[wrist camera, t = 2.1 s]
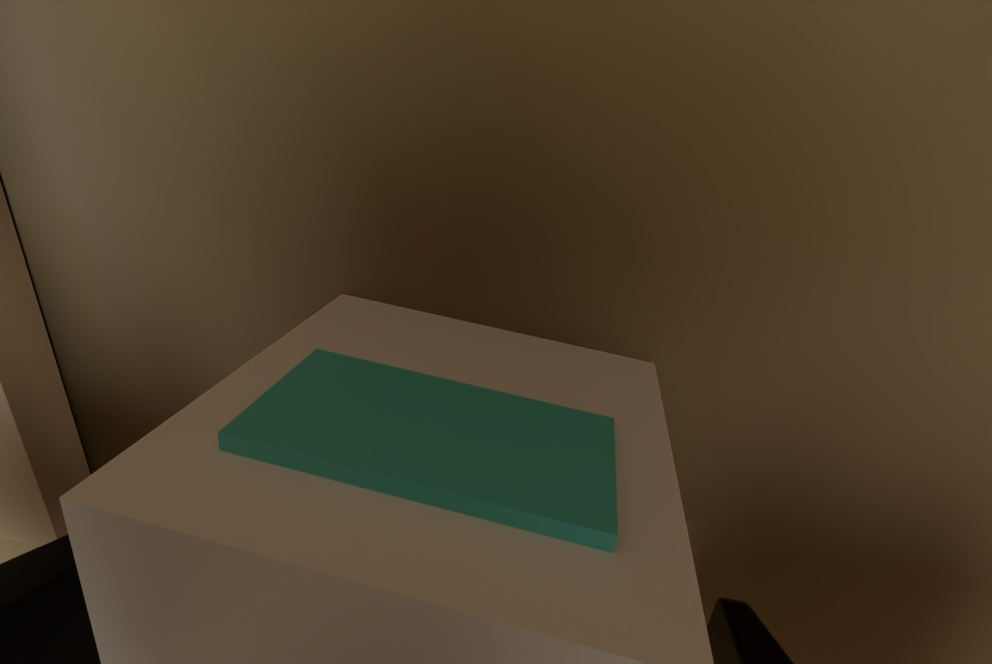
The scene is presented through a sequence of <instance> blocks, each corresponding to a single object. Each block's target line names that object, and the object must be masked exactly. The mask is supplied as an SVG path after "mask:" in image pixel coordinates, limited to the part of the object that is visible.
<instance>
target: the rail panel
mask: <svg viewBox="0 0 992 664" xmlns="http://www.w3.org/2000/svg"><path fill="white" fill-rule="evenodd" d="M90 475H91V474H90V471H89V468H88V464H87V461H86V458H85V455H84V451H83V448H82V445H81V442H80V438H79V435H78V432H77V429H76V425H75V422H74V419H73V416H72V412H71V409H70V406H69V403H68V399H67V396H66V393H65V390H64V386H63V383H62V380H61V377H60V373H59V370H58V367H57V364H56V360H55V357H54V354H53V351H52V347H51V344H50V341H49V338H48V334H47V331H46V328H45V325H44V321H43V318H42V315H41V312H40V308H39V305H38V302H37V299H36V295H35V292H34V289H33V286H32V282H31V279H30V276H29V273H28V269H27V266H26V263H25V260H24V256H23V253H22V250H21V247H20V243H19V240H18V237H17V234H16V231H15V227H14V224H13V221H12V218H11V214H10V211H9V208H8V205H7V201H6V198H5V195H4V192H3V188H2V185H1V182H0V538H2V539H6V540H10V541H15V542H19V543H24V544H28V545H32V546H37V547H40V546H42V545H45V544H47V543H49V542H52V541H54V540H56V539H58V538H61V537H63V536H65V535H67V534H68V531H67V527H66V523H65V519H64V515H63V511H62V507H61V503H60V499H59V497H61V496H62V495H64V494H65V493H66V492H68V491H69V490H71V489H72V488H73V487H75V486H76V485H77V484H79V483H80V482H82V481H83V480H84V479H86V478H87V477H89V476H90Z"/></svg>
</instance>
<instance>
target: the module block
mask: <svg viewBox="0 0 992 664" xmlns="http://www.w3.org/2000/svg"><path fill="white" fill-rule="evenodd" d="M59 499H60V503H61V507H62V511H63V515H64V519H65V523H66V527H67V531H68V535H69V539H70V543H71V547H72V551H73V555H74V559H75V563H76V567H77V570H78V574H79V578H80V582H81V586H82V590H83V594H84V598H85V602H86V606H87V610H88V614H89V618H90V622H91V626H92V630H93V634H94V638H95V642H96V645H97V649H98V653H99V657H100V661H101V664H714V662H713V657H712V652H711V647H710V642H709V637H708V632H707V627H706V622H705V617H704V612H703V606H702V601H701V596H700V591H699V586H698V581H697V576H696V571H695V566H694V561H693V556H692V551H691V546H690V540H689V535H688V530H687V525H686V520H685V515H684V510H683V505H682V500H681V495H680V490H679V485H678V480H677V474H676V469H675V464H674V459H673V454H672V449H671V444H670V439H669V434H668V429H667V424H666V419H665V414H664V408H663V403H662V398H661V393H660V388H659V383H658V378H657V373H656V368H655V363H652V362H647V361H643V360H638V359H634V358H629V357H625V356H620V355H616V354H611V353H607V352H602V351H598V350H593V349H589V348H584V347H580V346H575V345H571V344H566V343H562V342H557V341H553V340H548V339H544V338H539V337H535V336H530V335H526V334H521V333H517V332H512V331H508V330H503V329H499V328H494V327H490V326H485V325H481V324H476V323H471V322H467V321H462V320H458V319H453V318H449V317H444V316H440V315H435V314H431V313H426V312H422V311H417V310H413V309H408V308H404V307H399V306H395V305H390V304H386V303H381V302H377V301H372V300H368V299H363V298H359V297H354V296H350V295H345V294H341V295H340V296H338V297H337V298H335V299H334V300H333V301H331V302H330V303H328V304H327V305H326V306H324V307H323V308H322V309H320V310H319V311H317V312H316V313H315V314H313V315H312V316H310V317H309V318H308V319H306V320H305V321H304V322H302V323H301V324H299V325H298V326H297V327H295V328H294V329H292V330H291V331H290V332H288V333H287V334H285V335H284V336H283V337H281V338H280V339H279V340H277V341H276V342H274V343H273V344H272V345H270V346H269V347H267V348H266V349H265V350H263V351H262V352H261V353H259V354H258V355H256V356H255V357H254V358H252V359H251V360H249V361H248V362H247V363H245V364H244V365H242V366H241V367H240V368H238V369H237V370H236V371H234V372H233V373H231V374H230V375H229V376H227V377H226V378H224V379H223V380H222V381H220V382H219V383H218V384H216V385H215V386H213V387H212V388H211V389H209V390H208V391H206V392H205V393H204V394H202V395H201V396H200V397H198V398H197V399H195V400H194V401H193V402H191V403H190V404H188V405H187V406H186V407H184V408H183V409H181V410H180V411H179V412H177V413H176V414H175V415H173V416H172V417H170V418H169V419H168V420H166V421H165V422H163V423H162V424H161V425H159V426H158V427H157V428H155V429H154V430H152V431H151V432H150V433H148V434H147V435H145V436H144V437H143V438H141V439H140V440H138V441H137V442H136V443H134V444H133V445H132V446H130V447H129V448H127V449H126V450H125V451H123V452H122V453H120V454H119V455H118V456H116V457H115V458H114V459H112V460H111V461H109V462H108V463H107V464H105V465H104V466H102V467H101V468H100V469H98V470H97V471H95V472H94V473H93V474H91V475H90V476H89V477H87V478H86V479H84V480H83V481H82V482H80V483H79V484H77V485H76V486H75V487H73V488H72V489H71V490H69V491H68V492H66V493H65V494H64V495H62V496H61V497H59Z"/></svg>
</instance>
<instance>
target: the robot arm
mask: <svg viewBox="0 0 992 664" xmlns="http://www.w3.org/2000/svg"><path fill="white" fill-rule="evenodd" d="M707 632H708V637H709V642H710V647H711V652H712V657H713V662H714V664H794V663H793V662H792V661H791V659H790V658H789V657H788V655H787V654H786V653H785V651H784V650H783V649H782V648H781V646H780V645H779V644H778V642H777V641H776V640H775V638H774V637H773V636H772V635H771V633H770V632H769V631H768V629H767V628H766V627H765V625H764V624H763V623H762V622H761V620H760V619H759V618H758V616H757V615H756V614H755V612H754V611H753V610H752V609H751V607H750V606H749V605H747V604H746V603H744V602H741V601H736V600H731V599H726V598H720V599H718V600H717V602H716V604H715V607H714V610H713V612H712V615H711V618H710V621H709V624H708V627H707ZM0 664H101V661H100V657H99V653H98V649H97V645H96V642H95V638H94V634H93V630H92V626H91V622H90V618H89V614H88V610H87V606H86V602H85V598H84V594H83V590H82V586H81V582H80V578H79V574H78V570H77V567H76V563H75V559H74V555H73V551H72V547H71V543H70V539H69V535H68V534H67V535H65V536H63V537H61V538H58V539H56V540H54V541H52V542H49V543H47V544H45V545H42V546H40V547H38V548H36V549H33V550H31V551H29V552H27V553H24V554H22V555H20V556H17V557H15V558H13V559H11V560H8V561H6V562H4V563H2V564H0Z"/></svg>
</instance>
